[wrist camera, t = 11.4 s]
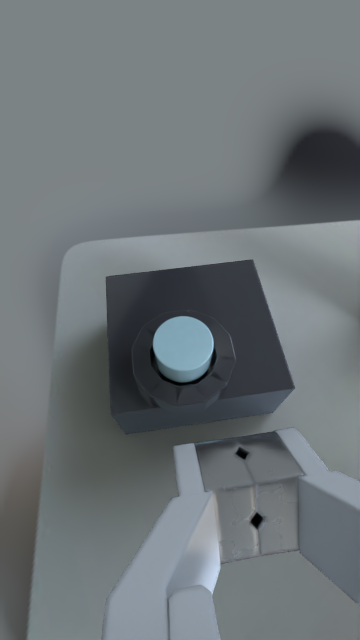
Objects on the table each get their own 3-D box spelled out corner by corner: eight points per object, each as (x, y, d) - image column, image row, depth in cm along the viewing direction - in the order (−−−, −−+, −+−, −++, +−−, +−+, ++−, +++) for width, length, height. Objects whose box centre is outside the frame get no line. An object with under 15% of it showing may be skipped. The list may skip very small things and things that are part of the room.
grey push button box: (125, 441, 26) (105, 416, 19) (118, 316, 32) (100, 261, 25) (275, 419, 27) (307, 387, 20) (241, 300, 32) (257, 243, 26)
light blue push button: (158, 386, 20) (155, 374, 19) (152, 335, 22) (149, 319, 20) (216, 378, 21) (219, 366, 19) (205, 328, 22) (207, 312, 21)
